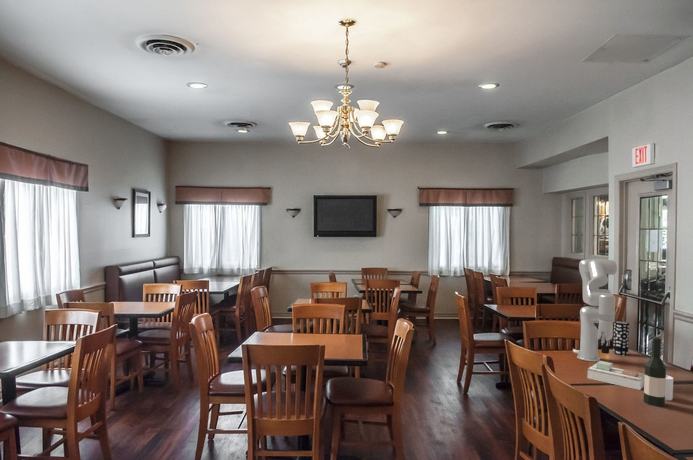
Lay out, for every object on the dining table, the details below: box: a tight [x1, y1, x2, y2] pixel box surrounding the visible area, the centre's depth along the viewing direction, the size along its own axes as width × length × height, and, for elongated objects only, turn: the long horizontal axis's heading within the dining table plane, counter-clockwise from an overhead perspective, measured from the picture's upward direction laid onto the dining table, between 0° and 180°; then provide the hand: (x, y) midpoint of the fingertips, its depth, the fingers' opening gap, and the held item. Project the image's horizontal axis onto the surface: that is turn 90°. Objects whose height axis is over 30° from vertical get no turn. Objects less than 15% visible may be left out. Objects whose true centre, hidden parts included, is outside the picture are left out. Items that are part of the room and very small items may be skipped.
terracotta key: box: [622, 368, 639, 377], centre depth 245 cm, size 6×6×3 cm
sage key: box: [596, 360, 613, 371], centre depth 253 cm, size 6×6×3 cm
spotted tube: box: [612, 320, 630, 357], centre depth 306 cm, size 8×8×20 cm
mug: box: [665, 374, 674, 401], centre depth 228 cm, size 12×9×10 cm
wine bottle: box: [643, 335, 667, 407], centre depth 218 cm, size 8×8×30 cm
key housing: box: [586, 363, 645, 391], centre depth 249 cm, size 24×14×5 cm, turn 47°
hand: (605, 353), depth 253 cm, fingers closed
